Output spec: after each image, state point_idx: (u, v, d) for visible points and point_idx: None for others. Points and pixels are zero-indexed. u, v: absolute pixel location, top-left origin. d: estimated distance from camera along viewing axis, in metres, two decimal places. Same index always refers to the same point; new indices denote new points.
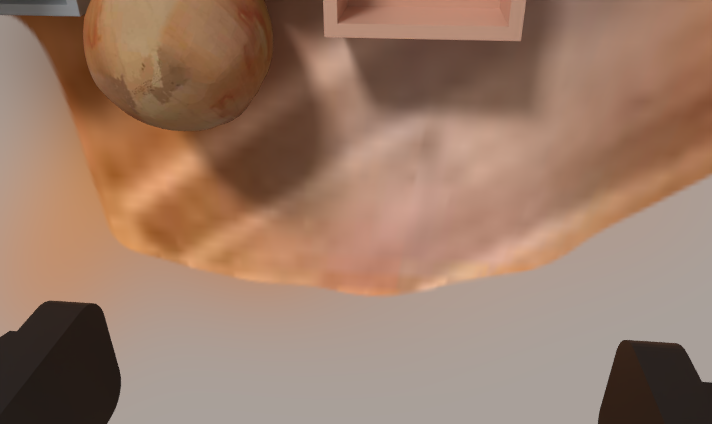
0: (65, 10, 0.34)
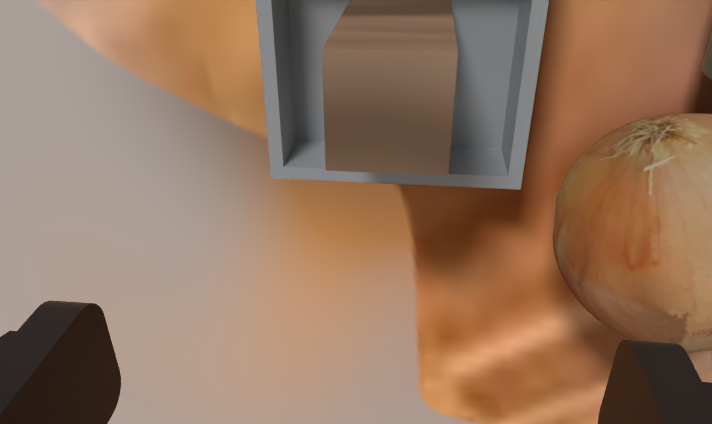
0: (503, 182, 0.26)
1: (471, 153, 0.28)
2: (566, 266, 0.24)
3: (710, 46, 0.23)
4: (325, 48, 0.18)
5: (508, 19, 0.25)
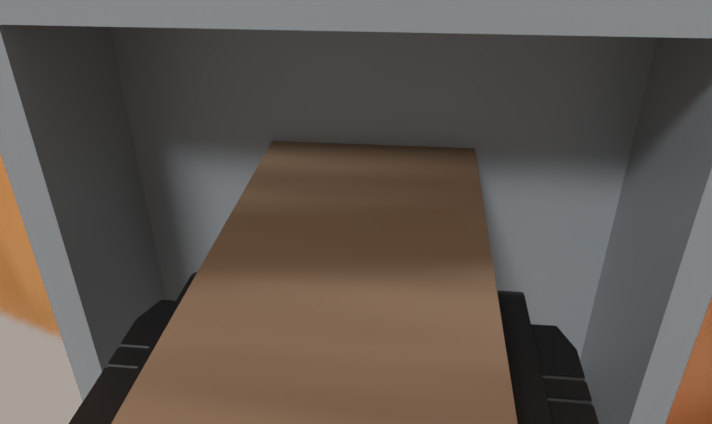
0: None
1: None
2: None
3: None
4: None
5: (599, 199, 0.12)
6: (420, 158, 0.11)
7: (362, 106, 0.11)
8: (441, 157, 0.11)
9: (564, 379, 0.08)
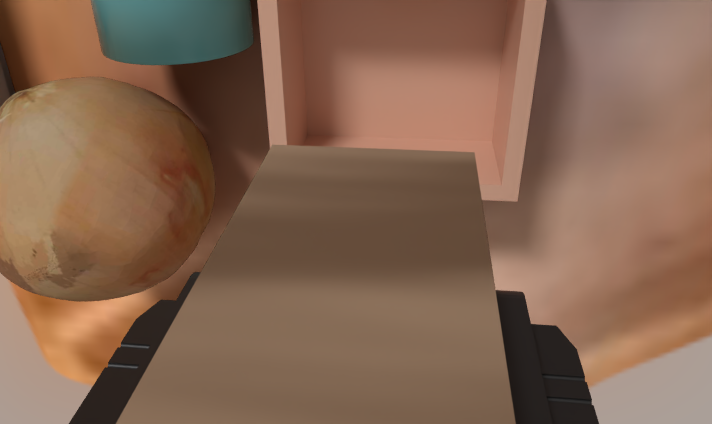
0: None
1: None
2: None
3: None
4: None
5: None
6: (420, 162, 0.11)
7: None
8: (441, 161, 0.11)
9: (564, 379, 0.08)
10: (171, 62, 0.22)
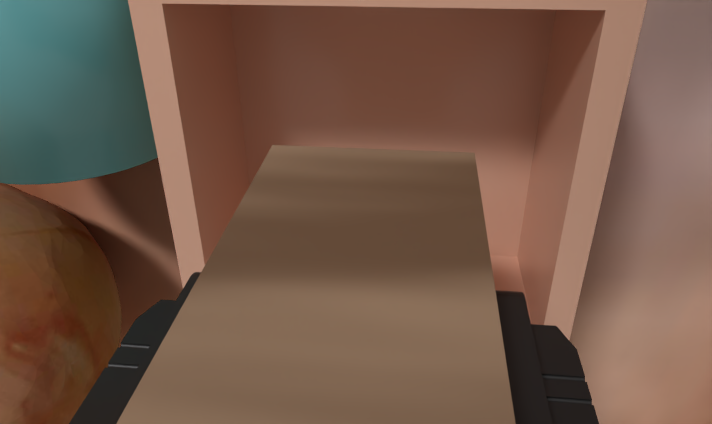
0: None
1: None
2: None
3: None
4: None
5: None
6: (420, 163, 0.11)
7: None
8: (441, 162, 0.11)
9: (564, 379, 0.08)
10: (91, 174, 0.14)
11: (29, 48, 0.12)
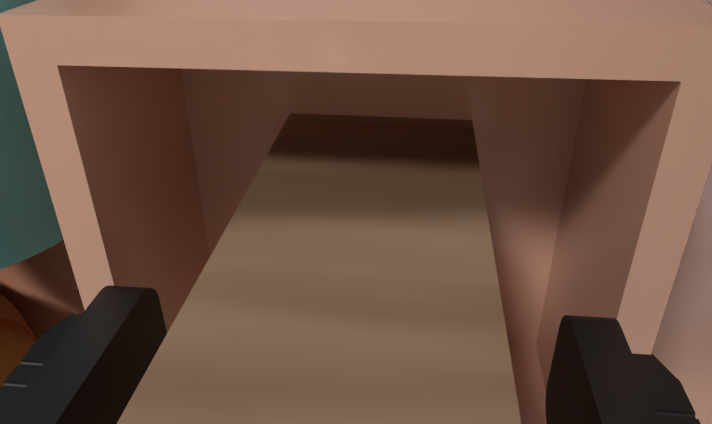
0: None
1: None
2: None
3: None
4: None
5: None
6: (423, 128, 0.13)
7: None
8: (442, 126, 0.13)
9: (673, 415, 0.08)
10: None
11: None
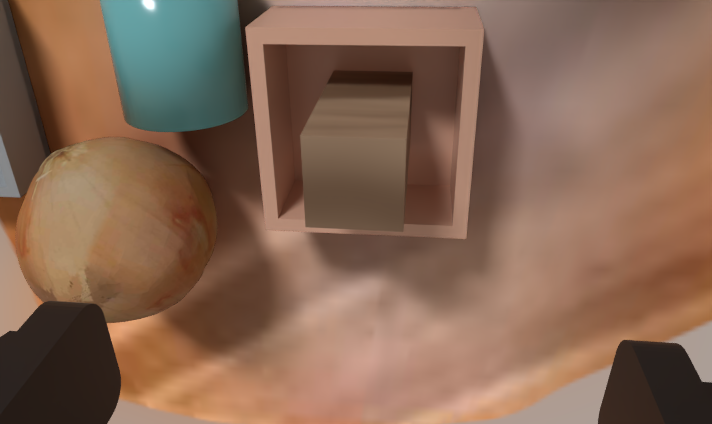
0: (5, 192, 0.33)
1: None
2: None
3: None
4: (303, 135, 0.23)
5: None
6: (391, 74, 0.30)
7: None
8: (399, 74, 0.30)
9: None
10: (180, 129, 0.27)
11: (157, 66, 0.26)
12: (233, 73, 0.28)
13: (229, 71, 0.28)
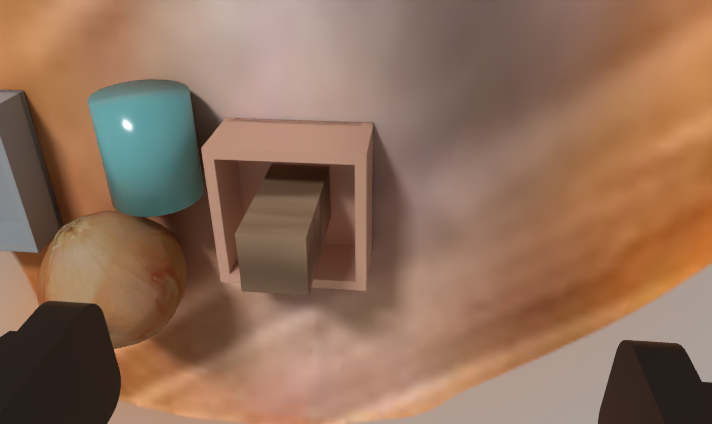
0: (27, 248, 0.44)
1: None
2: None
3: None
4: (237, 233, 0.34)
5: None
6: (312, 169, 0.40)
7: None
8: (319, 169, 0.40)
9: None
10: (147, 215, 0.38)
11: (130, 173, 0.37)
12: (187, 175, 0.38)
13: (183, 174, 0.38)
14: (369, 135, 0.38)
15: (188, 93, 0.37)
